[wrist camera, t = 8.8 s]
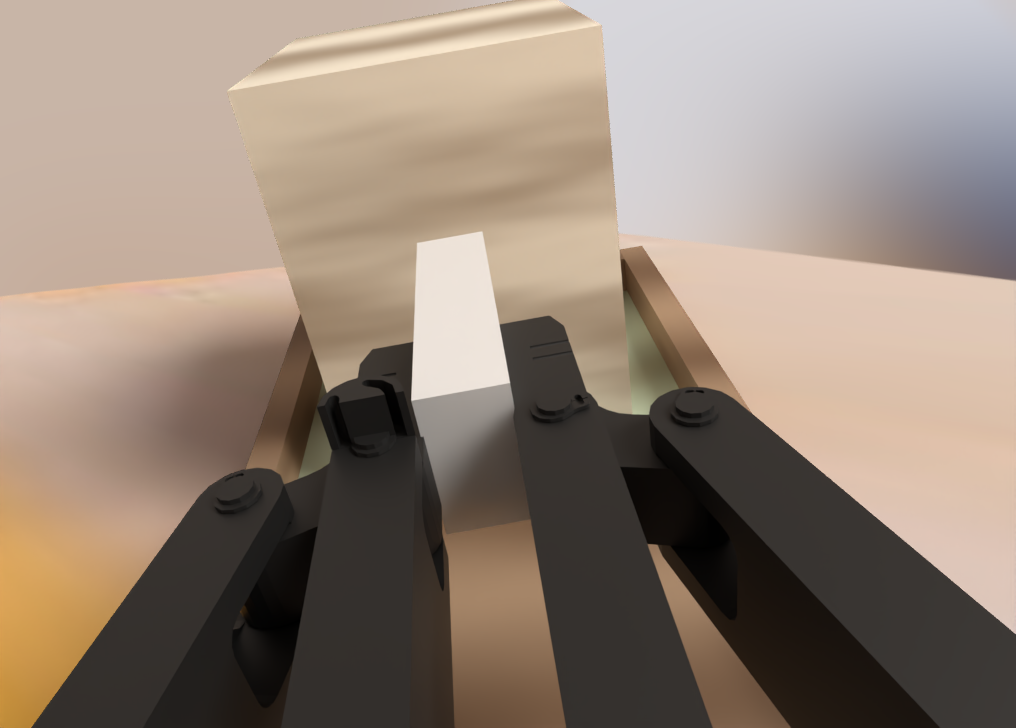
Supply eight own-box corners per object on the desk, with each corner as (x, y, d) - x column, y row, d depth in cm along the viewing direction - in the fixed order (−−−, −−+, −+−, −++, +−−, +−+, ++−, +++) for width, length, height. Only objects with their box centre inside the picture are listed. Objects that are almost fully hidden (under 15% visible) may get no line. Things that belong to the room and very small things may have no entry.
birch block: (378, 333, 32) (296, 38, 26) (581, 298, 32) (547, -6, 26) (356, 480, 24) (226, 91, 18) (634, 432, 24) (601, 25, 17)
